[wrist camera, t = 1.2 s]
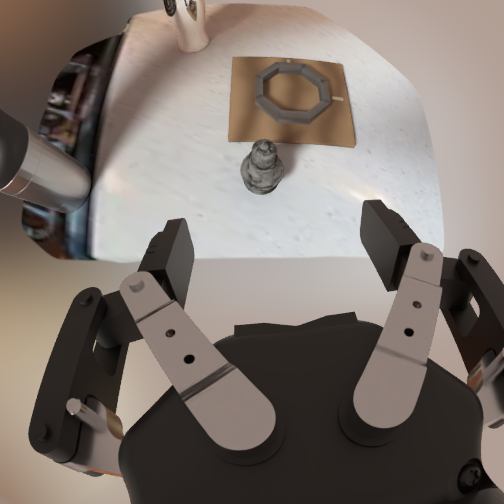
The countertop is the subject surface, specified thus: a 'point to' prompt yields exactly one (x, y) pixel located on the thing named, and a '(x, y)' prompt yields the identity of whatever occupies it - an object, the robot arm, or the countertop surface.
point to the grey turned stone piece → (262, 168)
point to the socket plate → (289, 102)
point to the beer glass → (188, 23)
